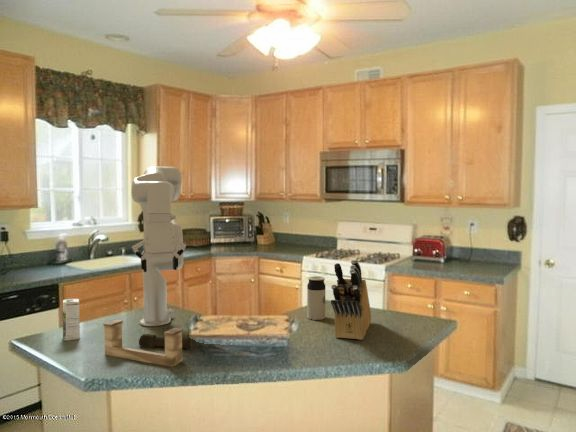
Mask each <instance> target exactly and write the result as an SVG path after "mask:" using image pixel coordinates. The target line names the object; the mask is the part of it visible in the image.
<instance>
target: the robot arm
mask: <svg viewBox="0 0 576 432" xmlns="http://www.w3.org/2000/svg"><path fill="white" fill-rule="evenodd" d="M182 179H183V178H182V173H181V170H180V169H179V168H178V167H176V166H162V165H161V166H159V165H158V166H154V165H153V166H150V167H148V168H146V169H145V170H144V172H143V175H140V176H139V175H138V176H137V177H134V178H133V181H132V182H131V189H130V190H131V198H132V200H133V202H134V203H136V204H139V205H140V207H141V210H142V214H143V215H142V216H143V217H142V218H143V219H142V220H143V235H142V241H140V242H138V243H136V244H135V245H132V246H131V249H132V251H133V252H134V253H135V255H136V256H137V257H138V258H139V259H140V265H141V270H142V288H143V292H142V293H143V295H142V296H143V297H142V298H143V318H141V319H140V320H139V324H140V325H141V326H144V327H160V326H164V325H168V324H169V323H170V322H171V321H172V319H171V317H169V315H170V314H173V312H174V310H173V309H172V308H169V309H168V303H167V302H168V301H167V300H168V297H167V296H168V295H167V294H168V293H167V291H168V290H167V289H168V287H167V279H166V278H165V276H164V275H163V274H162V273H161V272H163V271H164V272H165V271H178V270H180V269H182V268H183V265H184V251H185V250H186V247H187V244H186V243H184V238H183V237H184V236H183V229H182V226H181V224H180V223H178V222H172V221H173V220H176V215H174V214H172V202H176V201H178V200H179V198H180V196H181V189H182V183H183V182H182ZM141 247H142V248H143V249H142V250H143V251H142V252H140V251H139V249H140V248H141Z"/></svg>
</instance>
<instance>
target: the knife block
mask: <svg viewBox="0 0 576 432" xmlns="http://www.w3.org/2000/svg"><path fill="white" fill-rule="evenodd" d="M350 264H351V266H350V270H349V274H350V278H344V274H343V273H344V272H343V269H342V266H341V264H340V263H335V264H334V272H335V275H336V277H337V280H336V284H332V285H331V286H330V288H331V290H332V295H333V297H334V299H331V300H330V304H331V306H332V308H333V311H334V337H335V338H338V339H341V338H343V339H354V340H355V339H356V340H359V341H362V340H364V339H365V336H366V334H367V330H368V329H369V328H370V325H371V322H372V313H371V312H372V311H371V307H370V299H369V293H368V288H367V287H368V286H367V281H366V279H363V277H362V268H361V265H360V263H359V261H357V260H356V259H352V260H351V261H350Z"/></svg>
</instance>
